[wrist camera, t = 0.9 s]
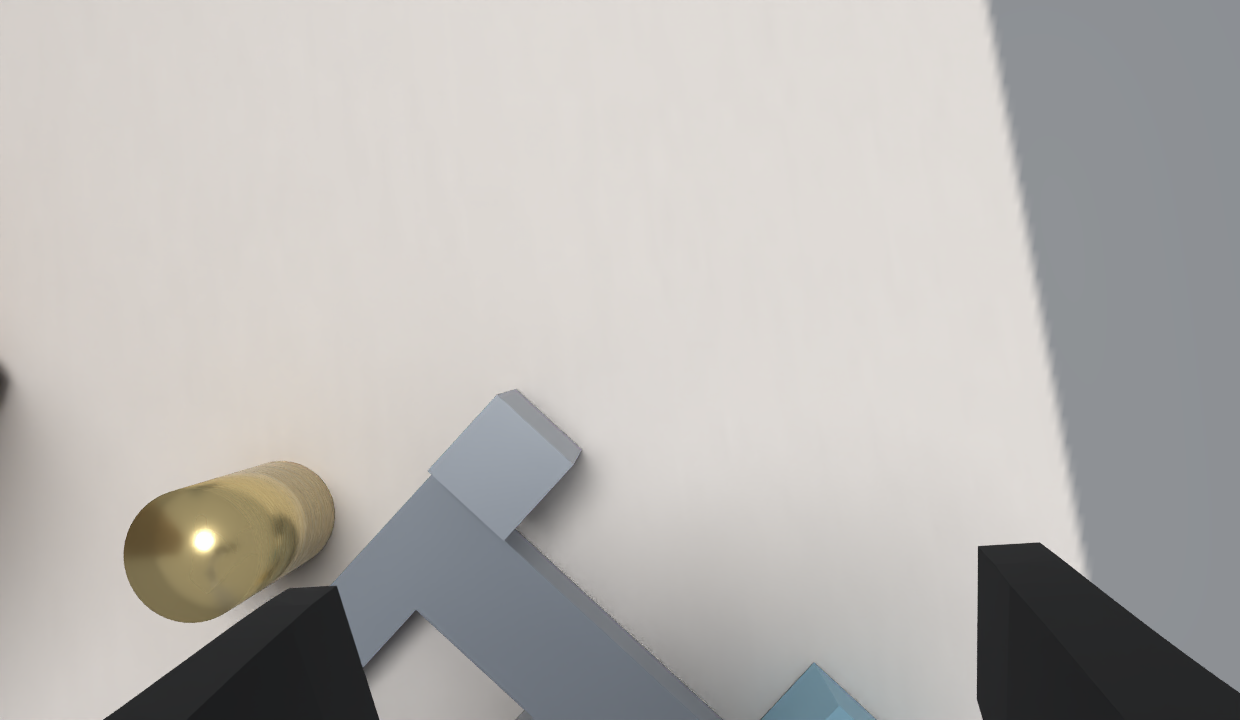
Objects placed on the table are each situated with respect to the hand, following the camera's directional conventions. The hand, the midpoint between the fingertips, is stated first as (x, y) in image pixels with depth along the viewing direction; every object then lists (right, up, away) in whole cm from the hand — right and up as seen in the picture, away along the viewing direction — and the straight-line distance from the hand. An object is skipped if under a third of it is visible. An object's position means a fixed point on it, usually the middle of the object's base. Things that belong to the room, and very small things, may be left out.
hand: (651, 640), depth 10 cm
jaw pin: (-12, -2, +19) cm, 23 cm away
